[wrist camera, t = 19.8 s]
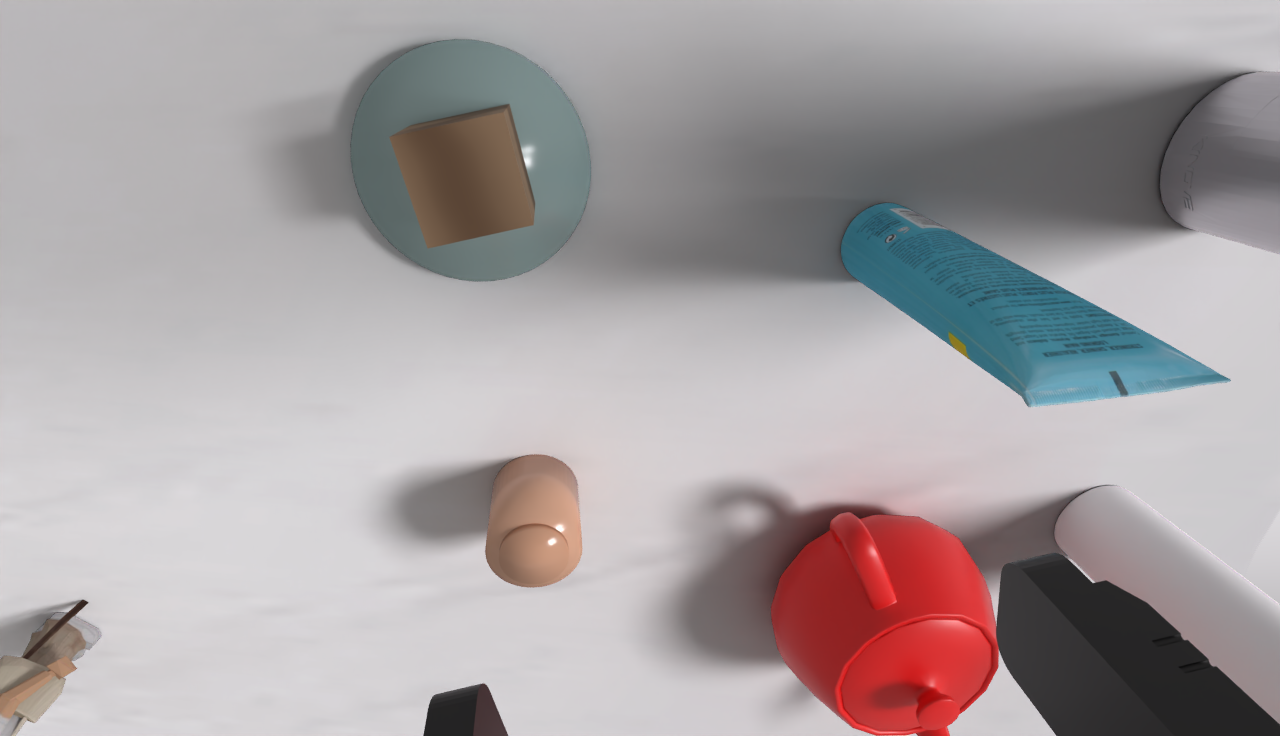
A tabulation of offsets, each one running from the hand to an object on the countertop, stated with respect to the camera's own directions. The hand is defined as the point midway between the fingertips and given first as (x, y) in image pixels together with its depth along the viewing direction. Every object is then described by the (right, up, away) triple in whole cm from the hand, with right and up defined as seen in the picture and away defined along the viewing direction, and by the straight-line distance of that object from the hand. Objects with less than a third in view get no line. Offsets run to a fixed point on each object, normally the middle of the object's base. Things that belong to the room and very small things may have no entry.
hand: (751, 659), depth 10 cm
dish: (-10, +15, +25) cm, 31 cm away
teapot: (+15, -12, +42) cm, 46 cm away
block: (-10, +15, +24) cm, 30 cm away
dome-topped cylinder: (-9, -4, +34) cm, 35 cm away
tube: (+13, +12, +30) cm, 35 cm away
